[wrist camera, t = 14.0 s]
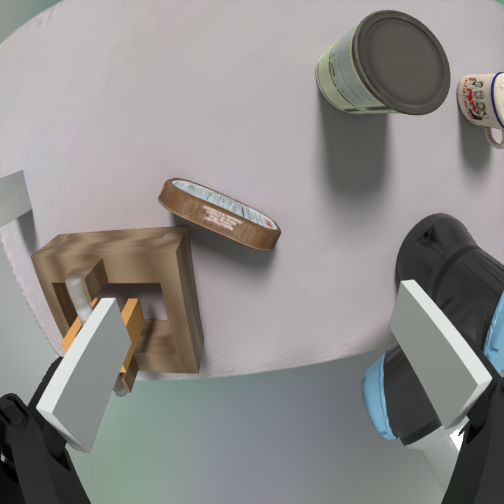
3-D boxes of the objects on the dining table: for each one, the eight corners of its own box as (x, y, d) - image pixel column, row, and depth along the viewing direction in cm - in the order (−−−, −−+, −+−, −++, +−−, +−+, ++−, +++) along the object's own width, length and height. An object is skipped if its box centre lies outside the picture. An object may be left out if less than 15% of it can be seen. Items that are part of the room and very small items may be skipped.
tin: (166, 190, 36) (147, 209, 28) (175, 168, 35) (157, 181, 27) (269, 235, 39) (275, 264, 32) (280, 215, 38) (289, 240, 30)
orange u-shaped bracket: (138, 298, 37) (116, 348, 28) (144, 321, 38) (126, 372, 29) (89, 298, 36) (60, 343, 27) (97, 320, 38) (73, 366, 29)
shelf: (187, 226, 38) (162, 279, 25) (203, 338, 47) (194, 405, 34) (58, 234, 38) (6, 278, 25) (91, 333, 46) (62, 387, 34)
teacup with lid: (450, 70, 28) (502, 67, 18) (485, 76, 28) (533, 78, 17) (460, 143, 33) (512, 157, 23) (492, 143, 33) (540, 157, 22)
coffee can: (352, 30, 27) (404, -5, 14) (399, 89, 30) (466, 84, 18) (297, 69, 30) (330, 39, 17) (349, 129, 33) (405, 137, 20)
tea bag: (22, 170, 33) (-19, 186, 24) (32, 209, 36) (-6, 232, 27) (9, 176, 33) (-30, 193, 24) (19, 213, 36) (-18, 236, 27)
